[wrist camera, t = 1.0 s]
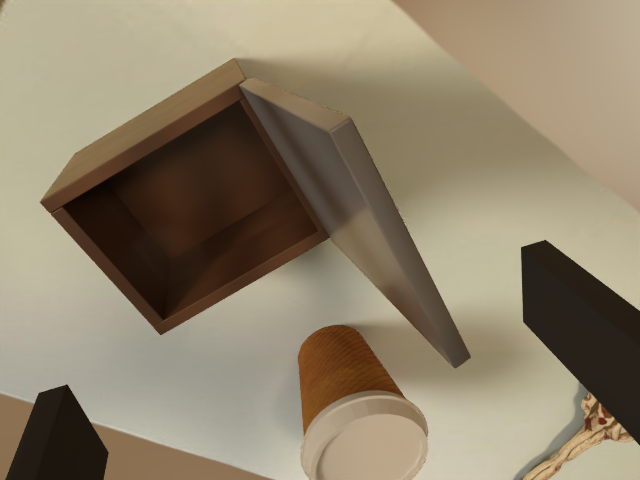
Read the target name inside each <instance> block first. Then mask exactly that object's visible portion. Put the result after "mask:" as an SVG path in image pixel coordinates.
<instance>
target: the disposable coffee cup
mask: <svg viewBox="0 0 640 480" xmlns="http://www.w3.org/2000/svg"><path fill="white" fill-rule="evenodd" d="M298 362H299V374H300V389H301V401H302V417H303V430H304V439H303V443H302V446H301V464H302V467H303V470H304V472H305V474H306V475H307V477H308V478H309V479H310V480H412V479H413V478H414V477H415V476H416V475H417V473H418V472H419V471H420V469H421V468H422V466H423V464H424V462H425V460H426V456H427V453H428V441H427V436H428V428H427V422H426V420H425V418H424V415H423V414H422V412H421V411H420V410H419V408H418V407H416V406H415V405H414V404H413V403H411V402H410V401H409V400H407V399H406V398H405V397H404V395H403V394H402V392H401V391H400V389H399V388H398V387H397V386H396V384H395V382H394V381H393V380H392V378H391V377H390V376H389V374H388V373H387V371H386V370H385V368H384V367H383V365H382V364H381V363H380V361H379V360H378V359H377V357H376V356H375V354H374V353H373V351H372V350H371V348H370V347H369V346H368V344H367V343H366V341H365V340H364V338H363V337H362V336H361V334H360V333H359V332H357V331H356V330H354V329H352V328H349V327H346V326H330V327H326V328H323V329H320V330H318V331H316V332H315V333H313V334H312V335H310V336H309V337H308V338H307V339H306V340H305V342H304V343H303V345H302V346H301V349H300V351H299V355H298Z"/></svg>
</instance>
